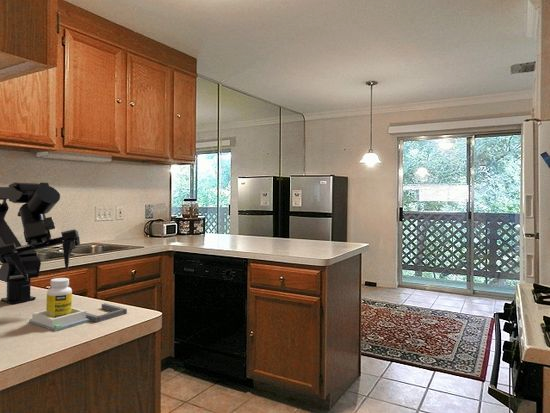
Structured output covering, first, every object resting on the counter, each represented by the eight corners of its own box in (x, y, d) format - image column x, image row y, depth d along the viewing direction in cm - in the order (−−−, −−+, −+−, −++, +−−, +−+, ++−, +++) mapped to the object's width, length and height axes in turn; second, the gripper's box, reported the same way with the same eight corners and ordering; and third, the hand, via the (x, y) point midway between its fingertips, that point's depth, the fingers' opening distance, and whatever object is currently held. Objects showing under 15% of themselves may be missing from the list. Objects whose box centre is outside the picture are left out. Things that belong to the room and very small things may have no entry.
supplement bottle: (53, 324, 92) (54, 283, 91) (41, 319, 95) (42, 279, 94) (75, 318, 96) (76, 279, 96) (63, 314, 99) (64, 276, 99)
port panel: (29, 322, 95) (29, 312, 95) (62, 313, 102) (63, 304, 102) (55, 331, 89) (56, 320, 89) (89, 321, 96) (89, 311, 96)
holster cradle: (74, 315, 100) (74, 311, 100) (104, 307, 108) (104, 303, 108) (96, 322, 96) (96, 317, 96) (126, 313, 104) (126, 308, 104)
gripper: (-14, 217, 96) (-2, 275, 91) (70, 201, 105) (85, 253, 100) (-4, 236, 105) (7, 290, 100) (73, 220, 114) (86, 268, 109)
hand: (47, 274), depth 102 cm, fingers open, 9 cm apart
